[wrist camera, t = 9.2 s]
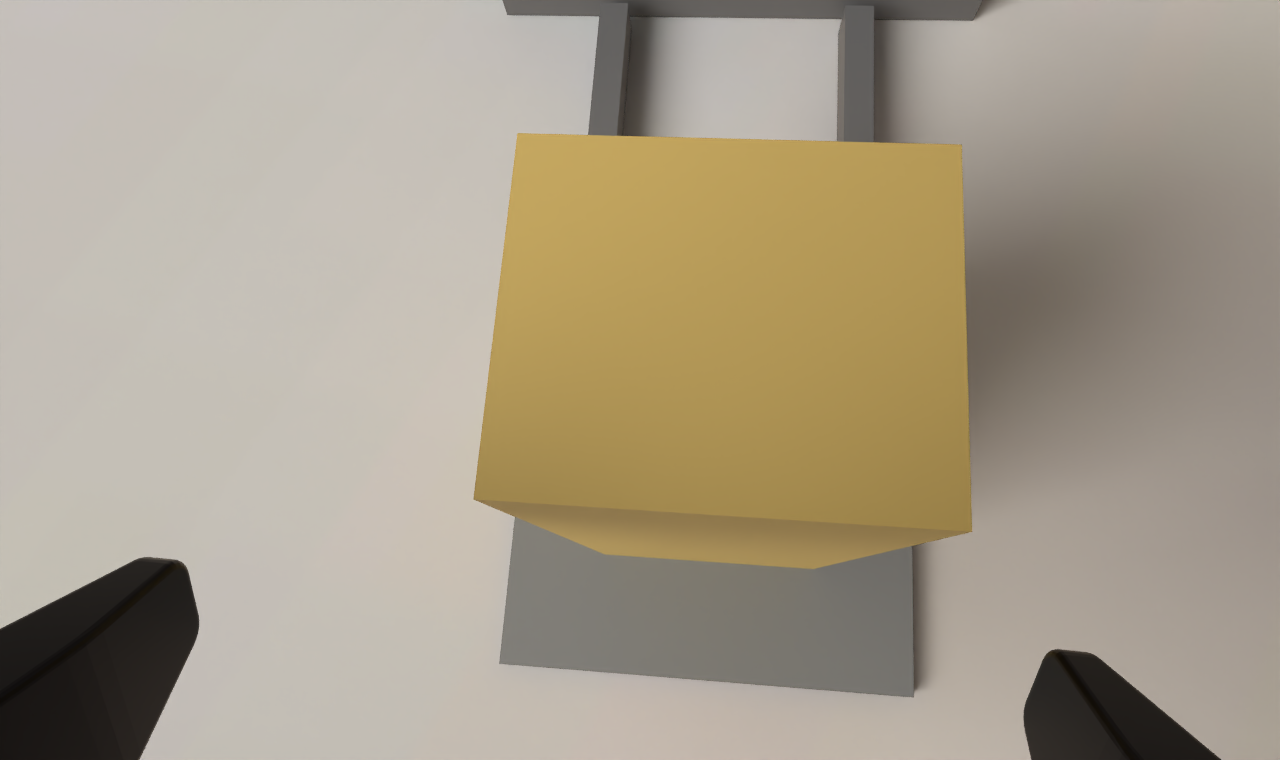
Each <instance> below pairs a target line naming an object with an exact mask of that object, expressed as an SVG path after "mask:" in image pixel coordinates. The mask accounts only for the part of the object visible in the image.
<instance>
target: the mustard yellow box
mask: <svg viewBox="0 0 1280 760" xmlns="http://www.w3.org/2000/svg"><path fill="white" fill-rule="evenodd" d="M474 500H476V501H479V502H481V503H483V504H486V505H488V506H491V507H493V508H495V509H498V510H500V511H503V512H505V513H507V514H510V515H512V516H514V517H517V518H519V519H522V520H524V521H526V522H529V523H531V524H533V525H536V526H538V527H541V528H543V529H545V530H548V531H550V532H552V533H555V534H557V535H560V536H562V537H564V538H567V539H569V540H572V541H574V542H576V543H579V544H581V545H583V546H586V547H588V548H591V549H593V550H595V551H598V552H600V553H602V554H605V555H619V556H633V557H647V558H662V559H676V560H690V561H704V562H719V563H733V564H747V565H761V566H776V567H790V568H804V569H816V568H820V567H824V566H829V565H833V564H837V563H841V562H846V561H850V560H854V559H858V558H863V557H867V556H871V555H875V554H880V553H884V552H888V551H892V550H897V549H901V548H905V547H909V546H914V545H918V544H922V543H926V542H931V541H935V540H939V539H943V538H948V537H952V536H956V535H960V534H965V533H969V532H972V515H971V477H970V439H969V402H968V364H967V327H966V289H965V251H964V214H963V176H962V145H957V144H917V143H878V142H839V141H800V140H761V139H722V138H683V137H644V136H604V135H565V134H526V133H518V134H517V142H516V150H515V159H514V167H513V175H512V184H511V192H510V200H509V208H508V217H507V225H506V233H505V242H504V250H503V258H502V267H501V275H500V283H499V292H498V300H497V308H496V317H495V325H494V333H493V342H492V350H491V358H490V367H489V375H488V383H487V392H486V400H485V408H484V416H483V425H482V433H481V441H480V450H479V458H478V466H477V475H476V483H475V491H474Z"/></svg>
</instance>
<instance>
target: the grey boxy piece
mask: <svg viewBox="0 0 1280 760" xmlns="http://www.w3.org/2000/svg"><path fill="white" fill-rule="evenodd" d="M981 2H982V0H503V3H504V6H505V9H506V12H507V15H569V16H599V27H598V37H597V48H596V58H595V69H594V79H593V90H592V100H591V111H590V121H589V132H588V135H604V136H623V125H624V113H625V101H626V90H627V78H628V66H629V54H630V42H631V23H630V16H654V17H738V18H823V19H842V21H841V25H840V29H839V33H838V109H837V141H839V142H874V19H907V20H973V19H974V17H975V15H976V13H977V11H978V8H979V6H980V4H981Z"/></svg>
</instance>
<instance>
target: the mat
mask: <svg viewBox="0 0 1280 760" xmlns="http://www.w3.org/2000/svg"><path fill="white" fill-rule="evenodd" d="M499 664H510V665H522V666H534V667H547V668H559V669H571V670H583V671H596V672H608V673H620V674H633V675H645V676H657V677H669V678H682V679H694V680H706V681H719V682H731V683H743V684H755V685H768V686H780V687H792V688H805V689H817V690H829V691H841V692H854V693H866V694H878V695H891V696H903V697H914V668H913V570H912V546H909V547H905V548H901V549H897V550H892V551H888V552H884V553H880V554H875V555H871V556H867V557H863V558H858V559H854V560H850V561H846V562H841V563H837V564H833V565H829V566H824V567H820V568H816V569H804V568H790V567H776V566H761V565H747V564H733V563H719V562H704V561H690V560H676V559H662V558H647V557H633V556H619V555H605V554H602V553H600V552H598V551H595V550H593V549H591V548H588V547H586V546H583V545H581V544H579V543H576V542H574V541H572V540H569V539H567V538H564V537H562V536H560V535H557V534H555V533H552V532H550V531H548V530H545V529H543V528H541V527H538V526H536V525H533V524H531V523H529V522H526V521H524V520H522V519H519V518H517V517H515V521H514V531H513V540H512V549H511V559H510V568H509V578H508V587H507V597H506V606H505V615H504V625H503V634H502V644H501V653H500V662H499Z"/></svg>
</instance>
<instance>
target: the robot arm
mask: <svg viewBox="0 0 1280 760" xmlns="http://www.w3.org/2000/svg"><path fill="white" fill-rule="evenodd" d="M198 630H199V615H198V611H197V607H196V602H195V598H194V594H193V590H192V585H191V581H190V577H189V573H188V570H187V567H186V566H185V565H184V564H183V563H182V562H180V561H178V560H173V559H163V558H153V557H143V558H139V559H137V560H134V561H132V562H130V563H128V564H126V565H124V566H122V567H121V568H119V569H117V570H115V571H113V572H111V573H109V574H107V575H105V576H103V577H101V578H99V579H97V580H95V581H93V582H91V583H89V584H87V585H85V586H83V587H81V588H79V589H77V590H75V591H73V592H72V593H70V594H68V595H66V596H64V597H62V598H60V599H58V600H56V601H54V602H52V603H50V604H48V605H46V606H44V607H42V608H40V609H38V610H36V611H34V612H32V613H30V614H28V615H26V616H25V617H23V618H21V619H19V620H17V621H15V622H13V623H11V624H9V625H7V626H5V627H3V628H1V629H0V760H139V759H140V757H141V755H142V753H143V751H144V749H145V747H146V745H147V743H148V741H149V738H150V736H151V734H152V732H153V730H154V728H155V726H156V724H157V722H158V720H159V717H160V715H161V713H162V711H163V709H164V707H165V705H166V703H167V701H168V698H169V696H170V694H171V692H172V690H173V688H174V686H175V684H176V682H177V679H178V677H179V675H180V673H181V671H182V669H183V667H184V665H185V663H186V660H187V658H188V656H189V654H190V652H191V650H192V648H193V646H194V643H195V641H196V638H197V635H198ZM1024 728H1025V733H1026V737H1027V742H1028V746H1029V751H1030V756H1031V760H1221V759H1220V758H1219V757H1217V756H1216V755H1215V754H1214V753H1213V752H1211V751H1210V750H1209V749H1208V748H1207V747H1205V746H1204V745H1203V744H1202V743H1201V742H1199V741H1198V740H1197V739H1196V738H1195V737H1193V736H1192V735H1191V734H1190V733H1189V732H1187V731H1186V730H1185V729H1184V728H1183V727H1181V726H1180V725H1179V724H1178V723H1177V722H1175V721H1174V720H1173V719H1172V718H1171V717H1169V716H1168V715H1167V714H1166V713H1165V712H1163V711H1162V710H1161V709H1160V708H1159V707H1157V706H1156V705H1155V704H1154V703H1153V702H1151V701H1150V700H1149V699H1148V698H1147V697H1145V696H1144V695H1143V694H1142V693H1141V692H1139V691H1138V690H1137V689H1136V688H1135V687H1133V686H1132V685H1131V684H1130V683H1129V682H1127V681H1126V680H1125V679H1124V678H1123V677H1121V676H1120V675H1119V674H1118V673H1117V672H1115V671H1114V670H1113V669H1112V668H1111V667H1109V666H1108V665H1107V664H1106V663H1105V662H1103V661H1102V660H1101V659H1100V658H1098V657H1097V656H1095V655H1093V654H1091V653H1087V652H1080V651H1070V650H1060V649H1055V650H1051V651H1050V652H1048V653H1047V654H1046V655H1045V657H1044V659H1043V661H1042V664H1041V666H1040V668H1039V671H1038V673H1037V676H1036V678H1035V681H1034V683H1033V686H1032V688H1031V691H1030V693H1029V695H1028V698H1027V700H1026V704H1025V708H1024Z"/></svg>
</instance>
